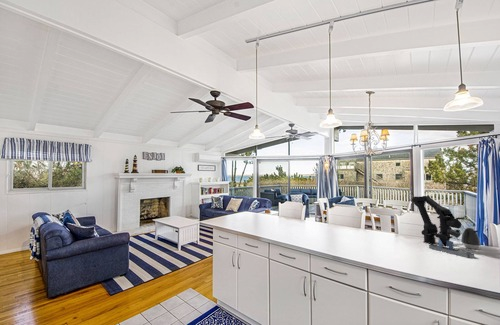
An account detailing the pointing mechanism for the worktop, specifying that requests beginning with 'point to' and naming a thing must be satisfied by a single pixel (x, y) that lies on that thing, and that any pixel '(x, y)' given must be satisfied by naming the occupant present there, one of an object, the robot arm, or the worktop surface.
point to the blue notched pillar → (449, 243)
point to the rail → (452, 251)
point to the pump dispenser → (470, 238)
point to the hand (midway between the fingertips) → (445, 246)
